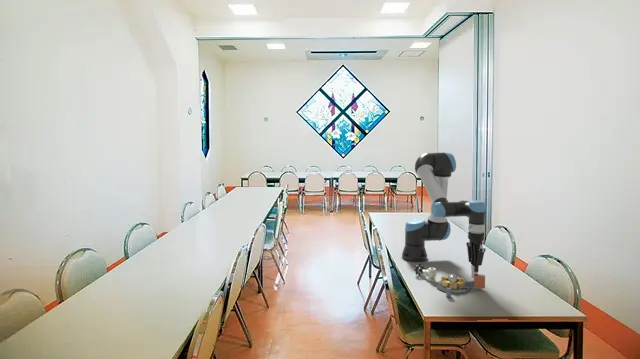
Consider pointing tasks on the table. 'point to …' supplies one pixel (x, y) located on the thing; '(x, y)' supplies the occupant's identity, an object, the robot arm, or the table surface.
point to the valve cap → (453, 291)
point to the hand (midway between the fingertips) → (474, 277)
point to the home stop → (448, 292)
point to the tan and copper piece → (464, 282)
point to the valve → (426, 272)
